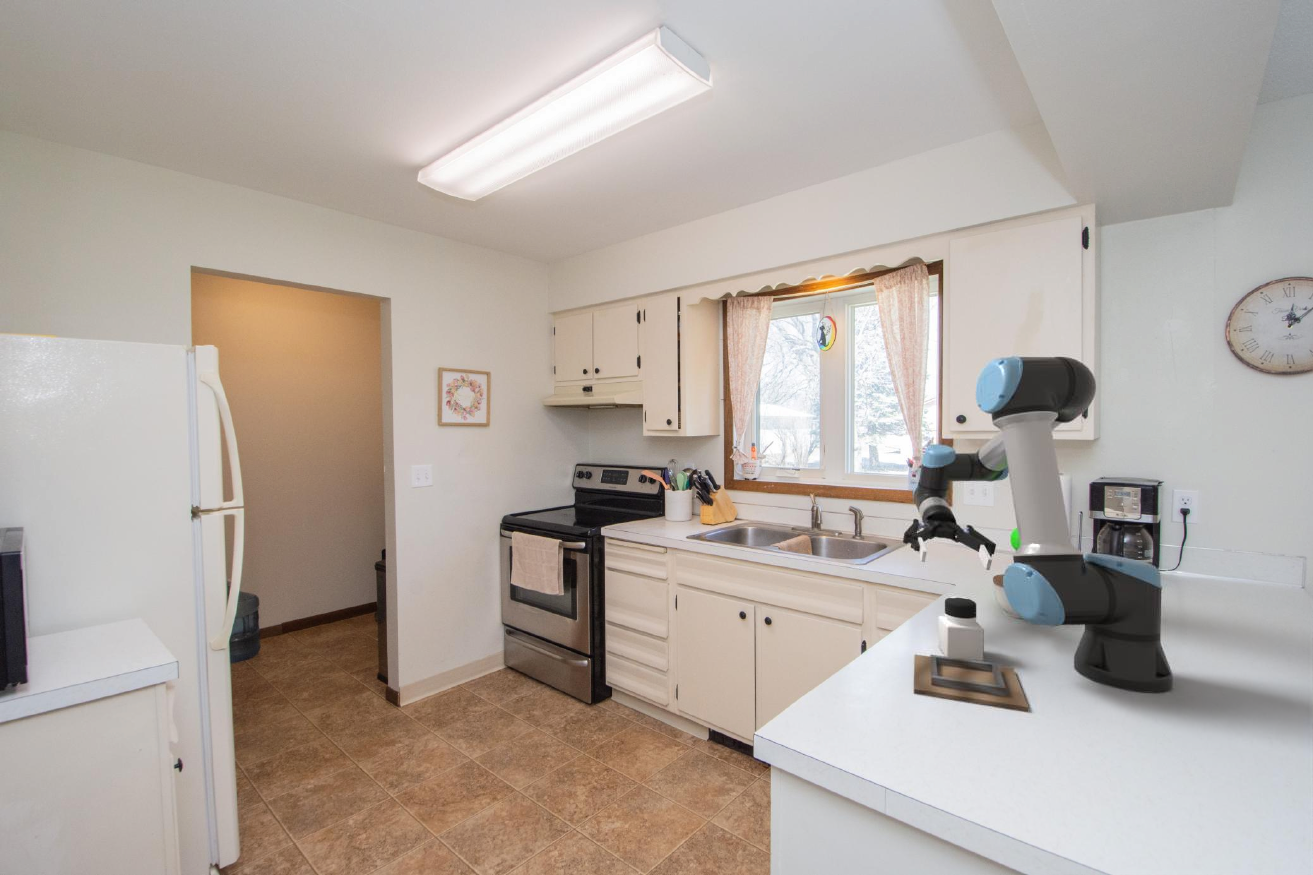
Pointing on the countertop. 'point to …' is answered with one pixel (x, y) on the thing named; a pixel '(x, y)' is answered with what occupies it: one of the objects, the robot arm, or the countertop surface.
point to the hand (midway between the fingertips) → (956, 560)
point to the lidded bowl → (1003, 597)
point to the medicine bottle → (961, 630)
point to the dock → (968, 681)
